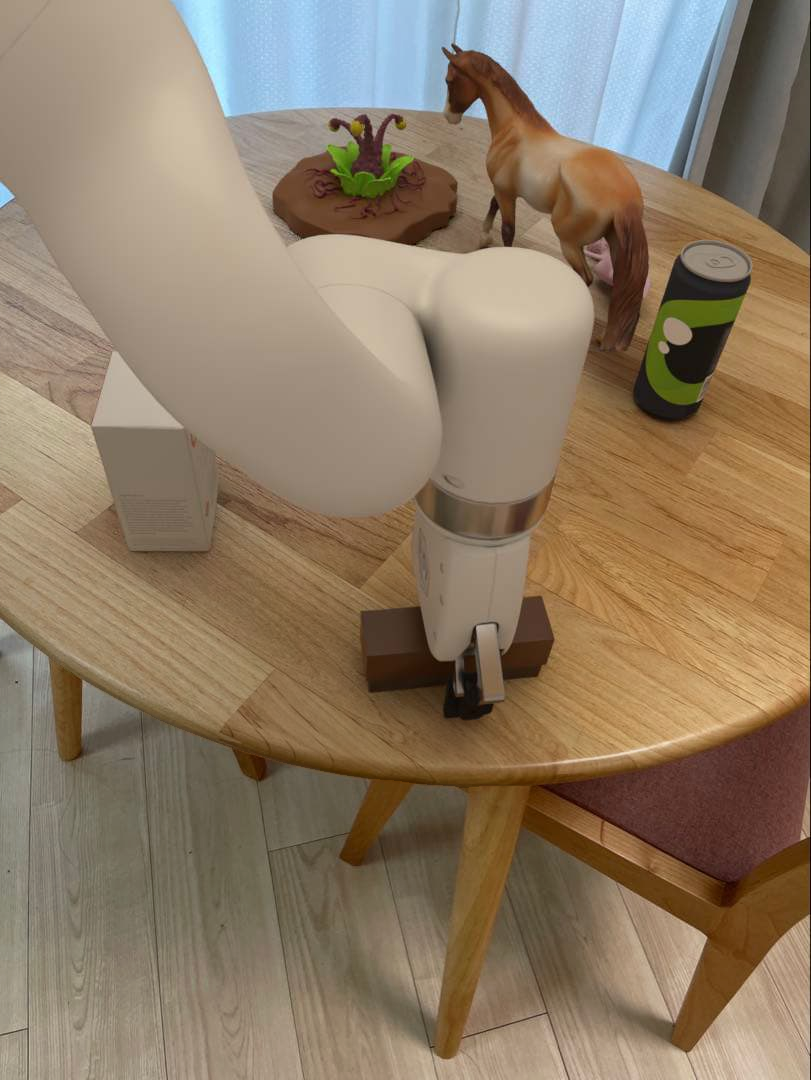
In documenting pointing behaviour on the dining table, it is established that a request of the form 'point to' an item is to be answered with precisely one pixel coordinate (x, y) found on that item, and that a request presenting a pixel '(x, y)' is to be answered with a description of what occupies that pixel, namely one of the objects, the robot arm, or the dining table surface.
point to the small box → (153, 467)
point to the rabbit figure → (606, 263)
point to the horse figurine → (556, 185)
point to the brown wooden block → (408, 663)
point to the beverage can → (692, 328)
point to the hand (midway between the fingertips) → (453, 651)
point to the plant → (366, 190)
